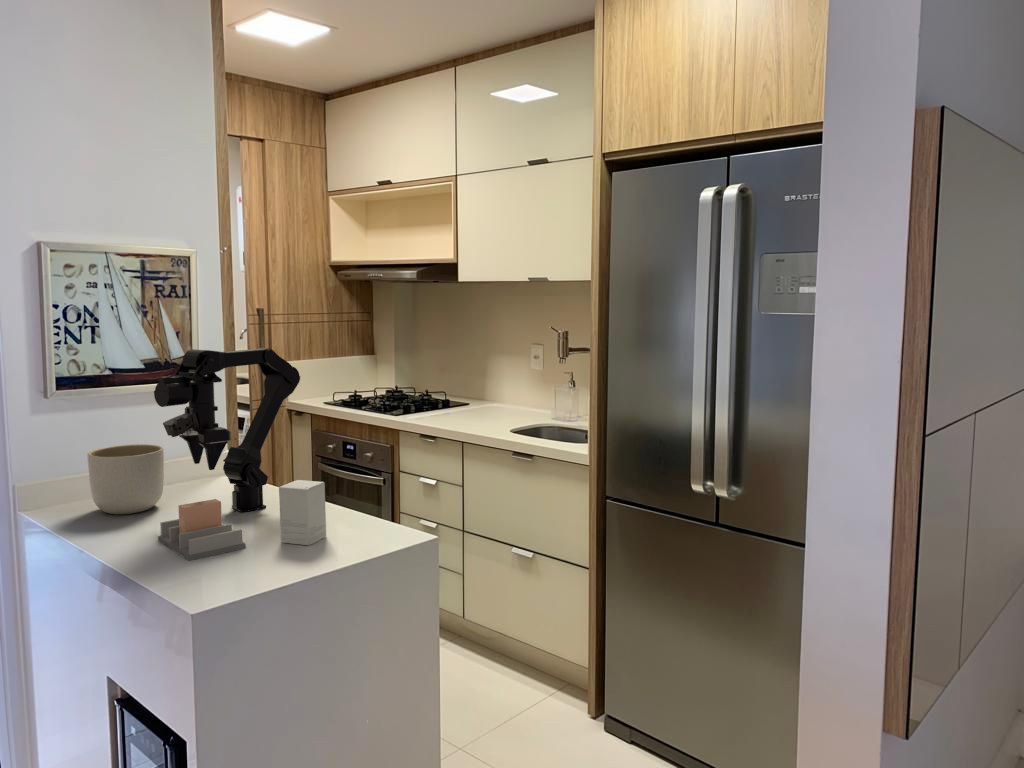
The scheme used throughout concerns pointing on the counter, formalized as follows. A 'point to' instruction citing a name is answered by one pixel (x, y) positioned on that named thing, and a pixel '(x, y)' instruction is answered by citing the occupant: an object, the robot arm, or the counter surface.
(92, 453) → the planter
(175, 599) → the counter surface
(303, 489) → the supplement box
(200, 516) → the tall clay brick
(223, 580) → the counter surface
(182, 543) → the dish rack
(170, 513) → the counter surface
